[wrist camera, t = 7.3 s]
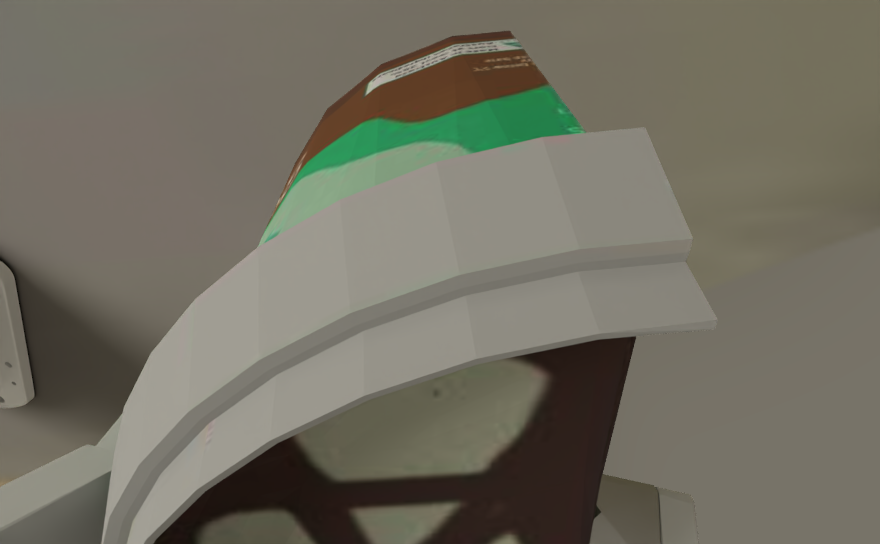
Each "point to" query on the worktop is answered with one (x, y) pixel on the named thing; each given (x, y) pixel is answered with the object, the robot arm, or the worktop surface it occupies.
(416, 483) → the food container
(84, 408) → the worktop surface
